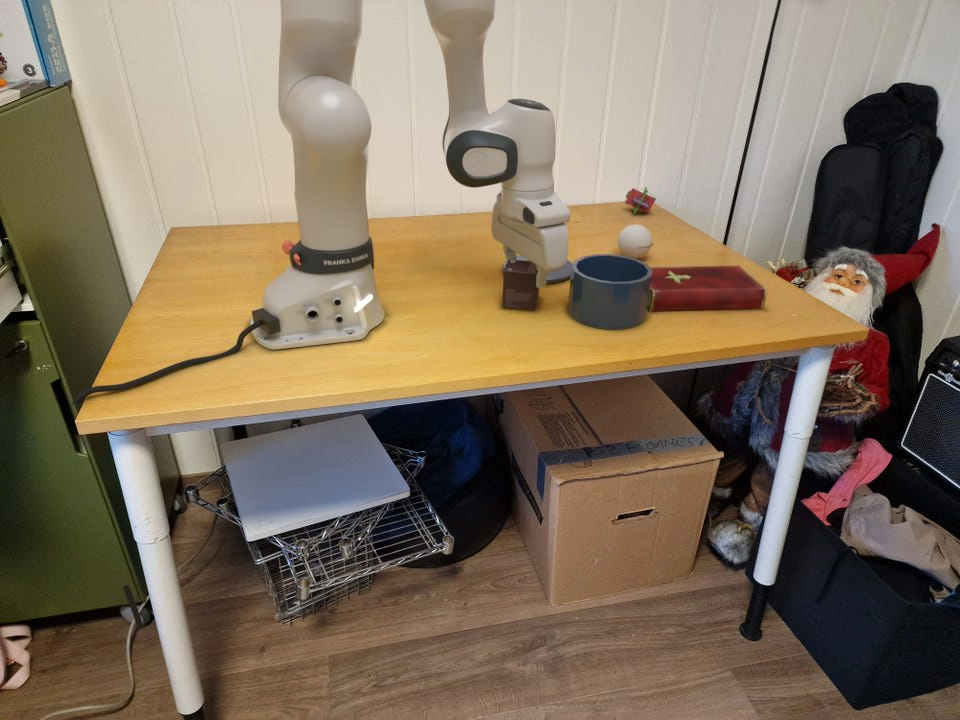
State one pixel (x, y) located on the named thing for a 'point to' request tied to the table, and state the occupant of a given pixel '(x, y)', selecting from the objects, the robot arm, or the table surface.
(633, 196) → the red gift box
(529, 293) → the box
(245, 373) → the table surface
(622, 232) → the white sphere
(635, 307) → the pot
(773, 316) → the table surface
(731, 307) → the hardcover book
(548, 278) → the pot lid
